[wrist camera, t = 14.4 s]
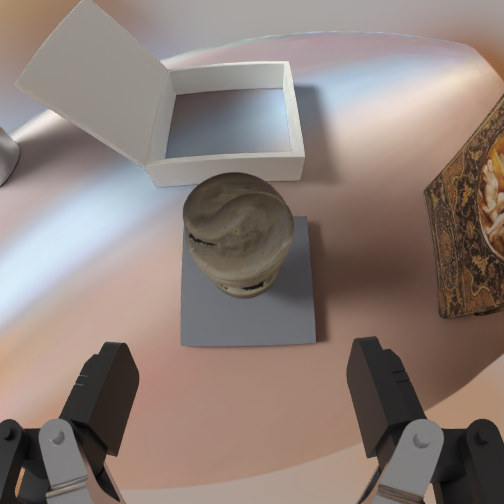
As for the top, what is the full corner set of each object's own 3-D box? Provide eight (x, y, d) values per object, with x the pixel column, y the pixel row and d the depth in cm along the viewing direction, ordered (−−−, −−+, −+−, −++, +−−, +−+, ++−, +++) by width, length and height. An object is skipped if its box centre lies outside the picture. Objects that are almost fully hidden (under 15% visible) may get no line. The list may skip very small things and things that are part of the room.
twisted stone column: (291, 284, 27) (325, 214, 13) (245, 324, 26) (226, 299, 12) (250, 240, 28) (241, 136, 14) (205, 277, 27) (149, 203, 13)
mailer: (103, 193, 32) (12, 84, 14) (128, 100, 37) (82, -3, 19) (300, 180, 32) (330, 26, 14) (286, 85, 37) (295, -37, 18)
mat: (184, 345, 27) (180, 345, 25) (187, 226, 30) (184, 221, 29) (313, 342, 27) (316, 342, 25) (304, 222, 30) (306, 216, 29)
